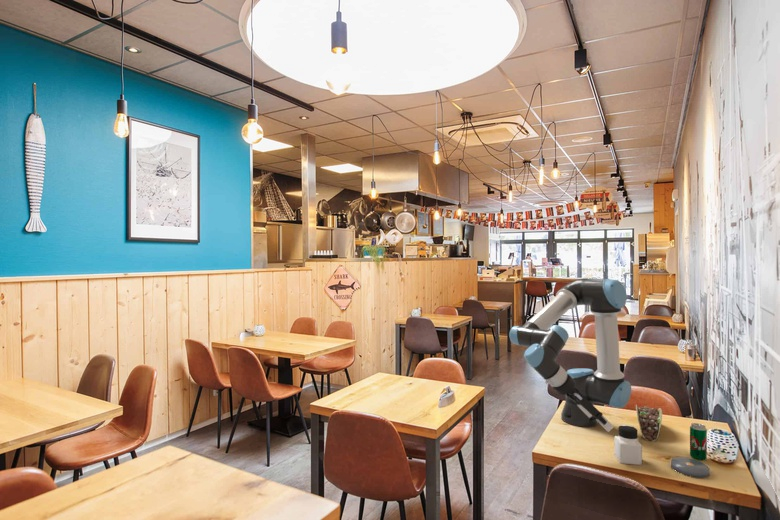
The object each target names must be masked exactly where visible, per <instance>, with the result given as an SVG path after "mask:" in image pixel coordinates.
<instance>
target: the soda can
mask: <svg viewBox="0 0 780 520" xmlns="http://www.w3.org/2000/svg"><path fill="white" fill-rule="evenodd" d="M707 430H708V429H707V428H706V425H704V424H702V423H697V422H692V423H691V424H690V426H689V457H691V459H694V460H697V461H706V460H707V459H708V450H707V449H708V447H707V445H708V431H707Z"/></svg>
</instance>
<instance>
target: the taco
mask: <svg viewBox="0 0 780 520" xmlns="http://www.w3.org/2000/svg"><path fill="white" fill-rule="evenodd" d="M635 411H636V417H637V421H638V425H639V430H640V433H641V436H642V438H644V440H645V441H648V442H655V441H657V440H658V438H659V436H660V432H661V426H662V420H663V418H662V417H663V409H662V408H661V407H659V408H656V407H654V408H653V407H652V408H651V407H648V406H646V405H644V406H640V407H639V406H638V405H637V404H635Z"/></svg>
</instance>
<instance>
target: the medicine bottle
mask: <svg viewBox="0 0 780 520" xmlns="http://www.w3.org/2000/svg"><path fill="white" fill-rule="evenodd" d="M638 430H639V429H637V427H635V426H634V425H633V426H632V425H628V424H621V425H618V435H615V436H614V451H613V452H614V456H615V458H616V459H617V460H618V462H619V463H620V464H627V465H637V466H643V445H642V443H640V442H639V439H638Z"/></svg>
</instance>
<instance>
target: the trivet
mask: <svg viewBox="0 0 780 520" xmlns="http://www.w3.org/2000/svg"><path fill="white" fill-rule="evenodd" d="M670 468H671V469H672V470H673V469H674V470H676V471H677V472H676V471H675V472H676V473H678V472H679V474H680V473H682V474H681V475H683V474H684V475H683V476H686V475H687V476H686V477H689V476H691V478H696V479H705V478H708V477H710V473H711V472H710V467H709V465H708V464H706V463H704V462H702V461H701V460H696V459H694V458H689V457H680V456H675V457H673V458H671V459H670Z"/></svg>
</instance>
